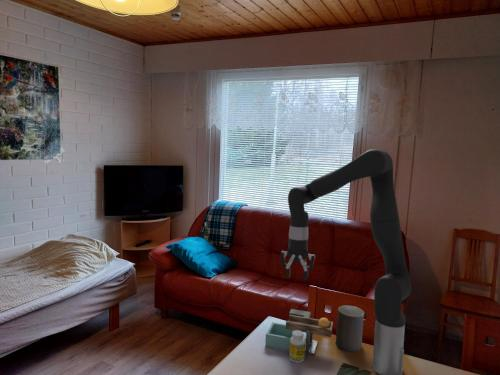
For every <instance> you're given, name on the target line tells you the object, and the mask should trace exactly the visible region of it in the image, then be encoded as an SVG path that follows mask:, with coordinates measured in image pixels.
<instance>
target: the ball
mask: <svg viewBox="0 0 500 375" xmlns="http://www.w3.org/2000/svg"><path fill="white" fill-rule="evenodd" d="M318 320H319V326H320V327H323V328H328V327H329V325H330V323H329V322H330V321H329V319H328V318H327V317H321V318H319V319H318Z"/></svg>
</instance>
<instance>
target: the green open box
mask: <svg viewBox="0 0 500 375" xmlns="http://www.w3.org/2000/svg"><path fill="white" fill-rule="evenodd" d="M293 331H294V330H288V329H286V323H285V324H283V323H278V322H271V324H270V326H269V328H268V330H267V331H266V333H265V345H264V347H265V348H269V349H275V350H279V351H284V352H289V353H290V338H291V337H292V332H293Z"/></svg>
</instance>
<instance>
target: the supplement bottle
mask: <svg viewBox="0 0 500 375" xmlns="http://www.w3.org/2000/svg"><path fill="white" fill-rule="evenodd" d="M304 333H305V332H302V331H299V330H295V331H293V332H292V337H291V338H290V352H289V357H288V358H289V360H290V361H291V362H294V363H296V364H297V363H302V362H304V361H305V355H306V354H305V339H306V338H304V336H305V335H304Z"/></svg>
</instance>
